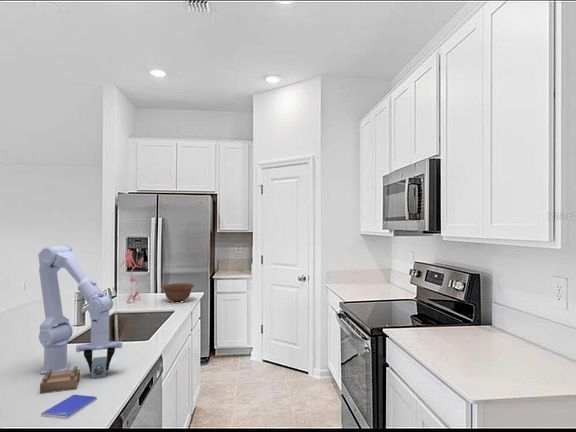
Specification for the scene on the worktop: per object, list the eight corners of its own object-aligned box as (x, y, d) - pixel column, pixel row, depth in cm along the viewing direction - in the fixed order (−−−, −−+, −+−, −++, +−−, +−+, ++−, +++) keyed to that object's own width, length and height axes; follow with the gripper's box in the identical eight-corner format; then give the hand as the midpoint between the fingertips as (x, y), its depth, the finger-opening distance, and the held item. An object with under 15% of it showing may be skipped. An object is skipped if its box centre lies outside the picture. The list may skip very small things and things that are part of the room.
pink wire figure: (146, 298, 288) (146, 247, 289) (131, 305, 263) (131, 250, 263) (125, 298, 289) (124, 248, 289) (107, 305, 263) (107, 250, 264)
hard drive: (67, 415, 111) (97, 396, 123) (41, 412, 113) (72, 394, 125) (67, 421, 111) (96, 401, 123) (40, 418, 113) (72, 399, 125)
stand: (46, 381, 137) (46, 368, 137) (79, 377, 140) (79, 365, 141) (39, 393, 128) (40, 379, 128) (76, 389, 131) (76, 375, 131)
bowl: (153, 301, 275) (153, 285, 275) (181, 297, 292) (181, 281, 292) (173, 306, 261) (173, 289, 261) (201, 301, 278) (201, 285, 278)
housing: (93, 371, 146) (93, 357, 146) (107, 370, 148) (107, 356, 148) (91, 379, 139) (91, 364, 139) (105, 377, 141) (106, 362, 141)
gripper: (75, 336, 137) (74, 377, 137) (122, 332, 143) (121, 371, 142) (77, 330, 144) (77, 370, 144) (122, 327, 149) (122, 365, 149)
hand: (99, 370), depth 144 cm, fingers closed on housing, 4 cm apart
